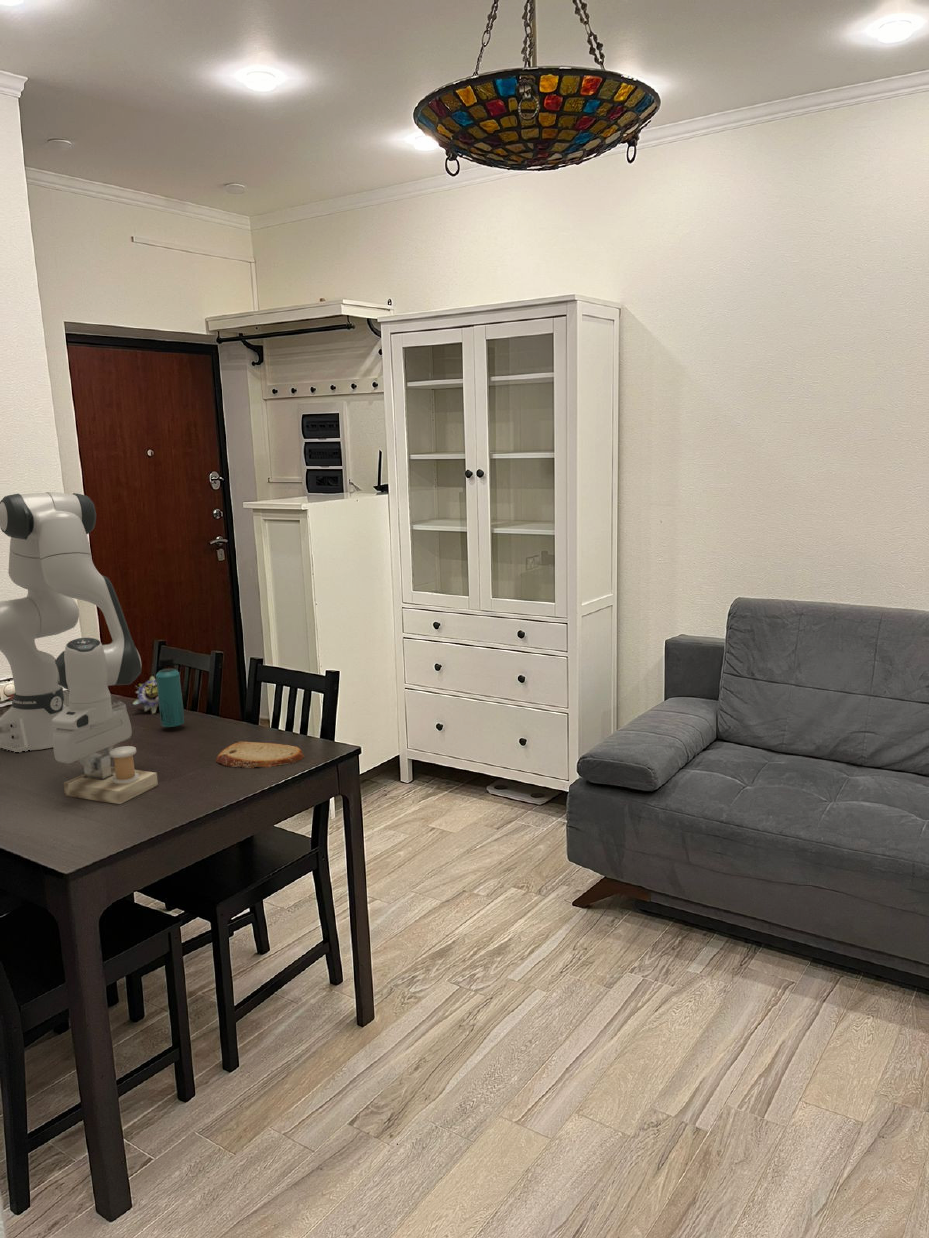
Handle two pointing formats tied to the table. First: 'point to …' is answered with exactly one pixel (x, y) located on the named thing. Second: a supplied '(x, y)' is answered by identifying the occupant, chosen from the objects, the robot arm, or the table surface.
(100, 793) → the slot board
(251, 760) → the slice of bread
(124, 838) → the table surface
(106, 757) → the metal tab
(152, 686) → the passion flower
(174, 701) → the beverage bottle
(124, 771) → the bobbin
